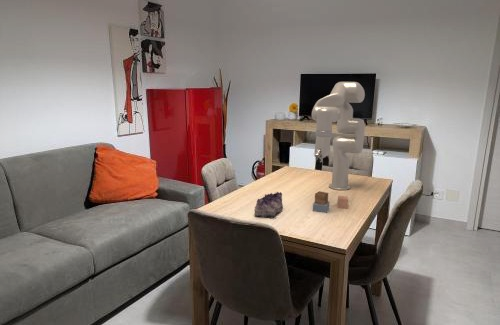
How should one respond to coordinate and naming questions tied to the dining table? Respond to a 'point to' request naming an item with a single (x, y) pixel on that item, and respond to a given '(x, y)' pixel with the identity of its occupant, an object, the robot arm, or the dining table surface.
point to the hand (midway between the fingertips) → (322, 167)
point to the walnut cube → (321, 198)
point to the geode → (269, 205)
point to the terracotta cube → (342, 202)
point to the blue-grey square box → (321, 207)
